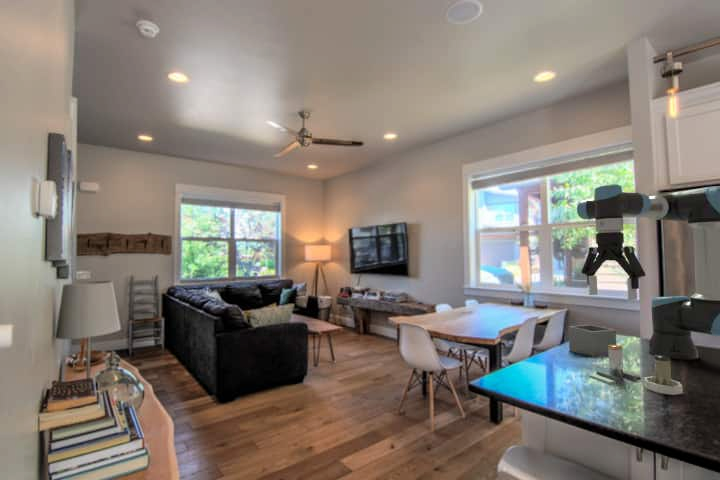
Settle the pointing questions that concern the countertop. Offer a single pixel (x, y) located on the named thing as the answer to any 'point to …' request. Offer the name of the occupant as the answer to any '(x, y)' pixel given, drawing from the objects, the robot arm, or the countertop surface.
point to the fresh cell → (615, 361)
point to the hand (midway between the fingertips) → (611, 297)
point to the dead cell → (662, 370)
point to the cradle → (616, 378)
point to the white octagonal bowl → (663, 386)
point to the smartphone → (584, 354)
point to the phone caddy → (591, 339)
